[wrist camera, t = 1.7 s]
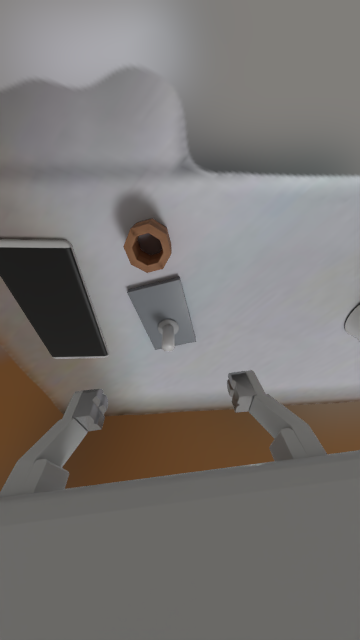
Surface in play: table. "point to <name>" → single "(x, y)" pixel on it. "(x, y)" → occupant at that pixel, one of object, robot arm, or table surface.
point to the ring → (143, 258)
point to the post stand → (164, 313)
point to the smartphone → (53, 296)
